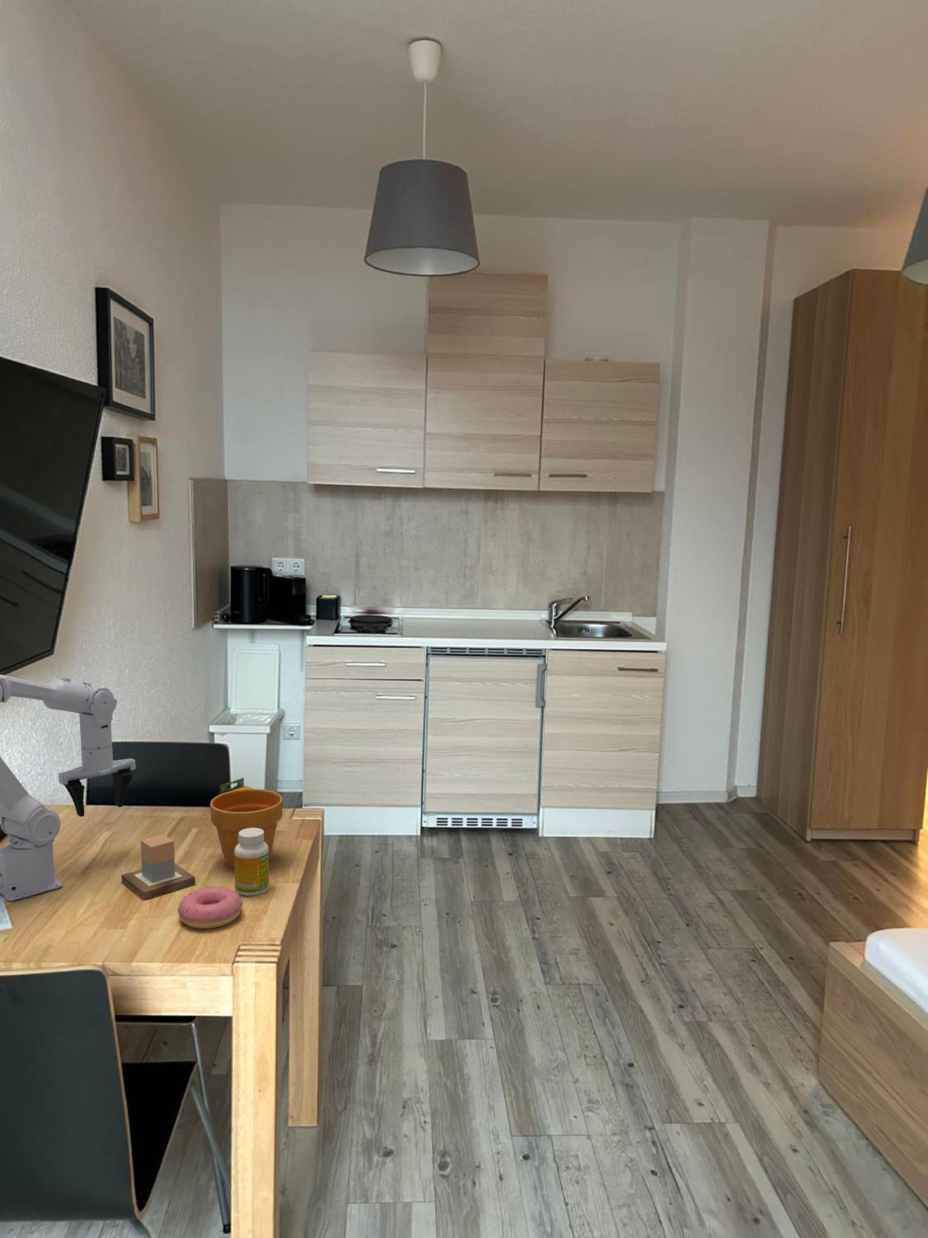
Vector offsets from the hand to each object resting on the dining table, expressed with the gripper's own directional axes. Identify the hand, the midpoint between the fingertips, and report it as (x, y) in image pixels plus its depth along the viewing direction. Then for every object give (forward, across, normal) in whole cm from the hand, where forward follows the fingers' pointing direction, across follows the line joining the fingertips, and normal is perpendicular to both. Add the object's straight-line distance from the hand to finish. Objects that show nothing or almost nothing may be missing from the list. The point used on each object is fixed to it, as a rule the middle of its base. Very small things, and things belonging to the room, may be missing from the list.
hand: (100, 810), depth 174 cm
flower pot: (+11, +22, -20) cm, 31 cm away
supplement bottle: (+11, +16, -32) cm, 37 cm away
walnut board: (+10, +4, -18) cm, 21 cm away
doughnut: (+11, +4, -37) cm, 39 cm away
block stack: (+9, +4, -18) cm, 21 cm away
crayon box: (+11, +28, -5) cm, 30 cm away
